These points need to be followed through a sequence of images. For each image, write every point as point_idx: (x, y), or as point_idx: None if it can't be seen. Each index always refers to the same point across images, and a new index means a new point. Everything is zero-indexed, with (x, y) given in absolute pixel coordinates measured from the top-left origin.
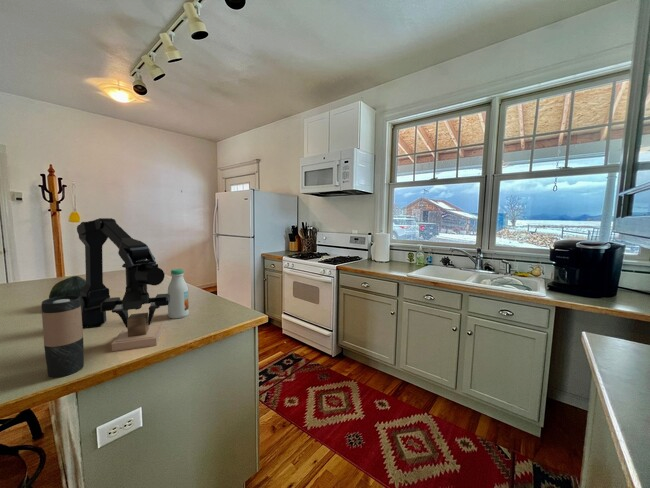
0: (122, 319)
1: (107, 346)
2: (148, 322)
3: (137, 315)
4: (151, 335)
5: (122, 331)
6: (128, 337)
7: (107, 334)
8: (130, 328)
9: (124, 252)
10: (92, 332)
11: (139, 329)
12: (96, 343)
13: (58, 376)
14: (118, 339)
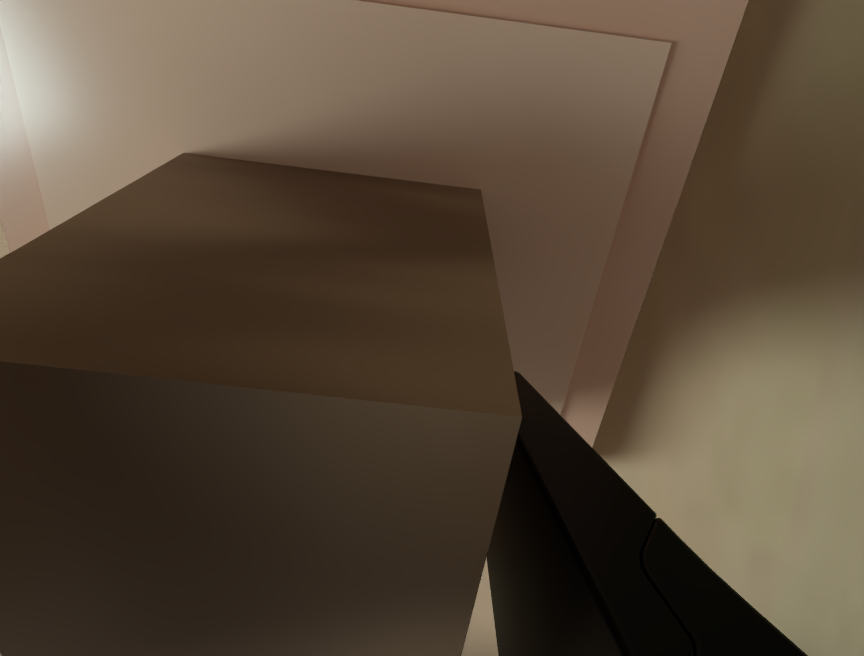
0: (651, 523)
1: (724, 229)
2: None
3: (244, 612)
4: (52, 51)
5: None
6: (469, 154)
7: None
8: (429, 243)
9: None
10: (798, 630)
11: (250, 206)
12: (818, 379)
13: None
14: (631, 139)
